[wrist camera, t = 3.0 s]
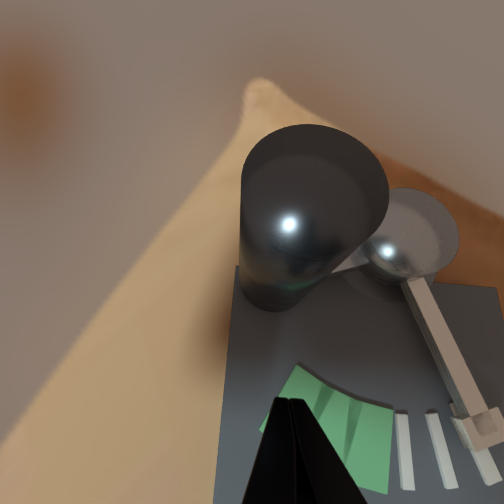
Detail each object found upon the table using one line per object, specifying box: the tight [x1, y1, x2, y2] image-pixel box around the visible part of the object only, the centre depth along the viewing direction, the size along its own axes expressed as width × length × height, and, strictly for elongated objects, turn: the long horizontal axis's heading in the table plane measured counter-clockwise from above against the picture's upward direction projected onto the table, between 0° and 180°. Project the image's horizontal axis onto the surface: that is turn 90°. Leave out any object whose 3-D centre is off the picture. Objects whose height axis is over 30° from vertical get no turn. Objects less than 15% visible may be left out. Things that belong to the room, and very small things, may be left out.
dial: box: [239, 124, 504, 452], centre depth 10 cm, size 10×12×8 cm
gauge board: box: [213, 266, 504, 504], centre depth 15 cm, size 17×14×1 cm
